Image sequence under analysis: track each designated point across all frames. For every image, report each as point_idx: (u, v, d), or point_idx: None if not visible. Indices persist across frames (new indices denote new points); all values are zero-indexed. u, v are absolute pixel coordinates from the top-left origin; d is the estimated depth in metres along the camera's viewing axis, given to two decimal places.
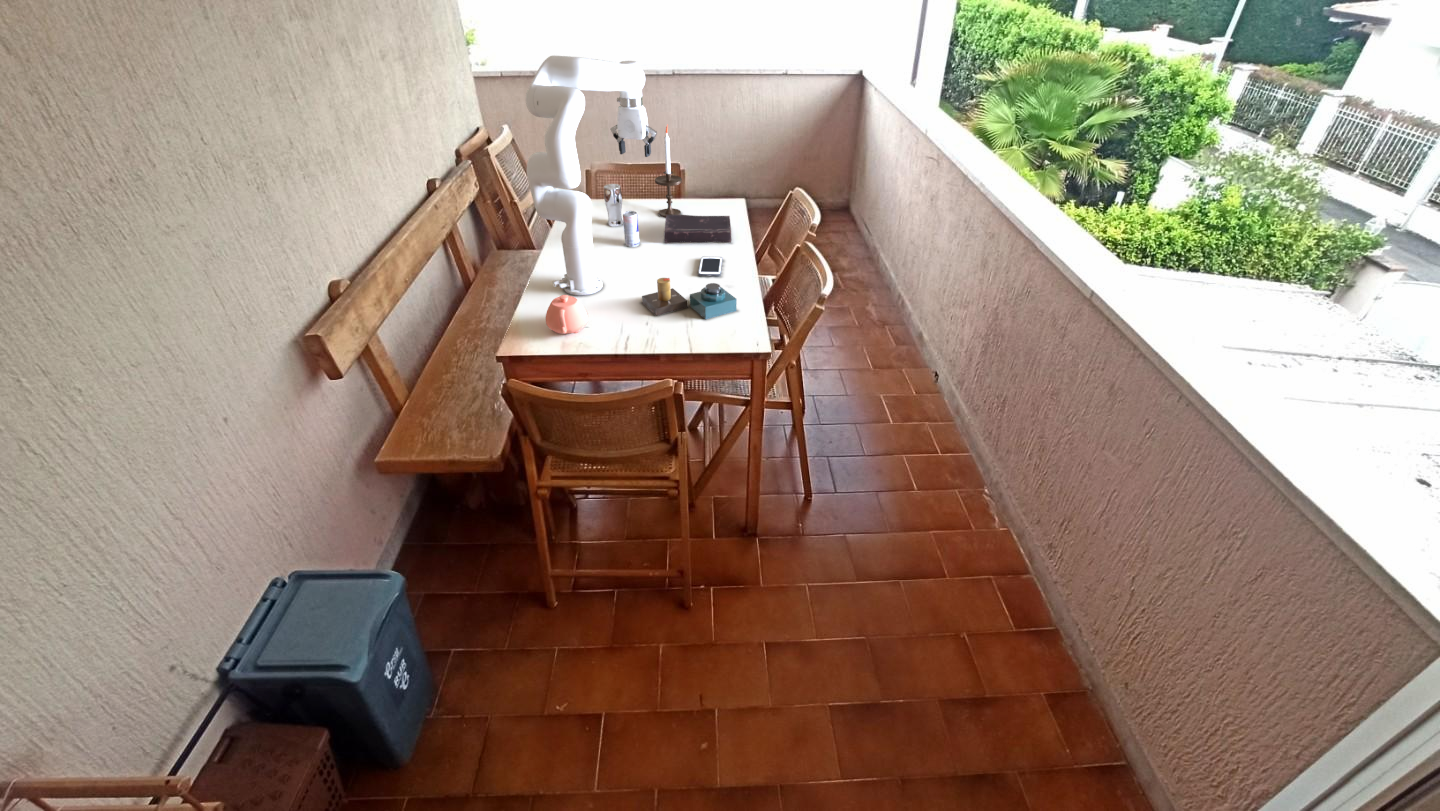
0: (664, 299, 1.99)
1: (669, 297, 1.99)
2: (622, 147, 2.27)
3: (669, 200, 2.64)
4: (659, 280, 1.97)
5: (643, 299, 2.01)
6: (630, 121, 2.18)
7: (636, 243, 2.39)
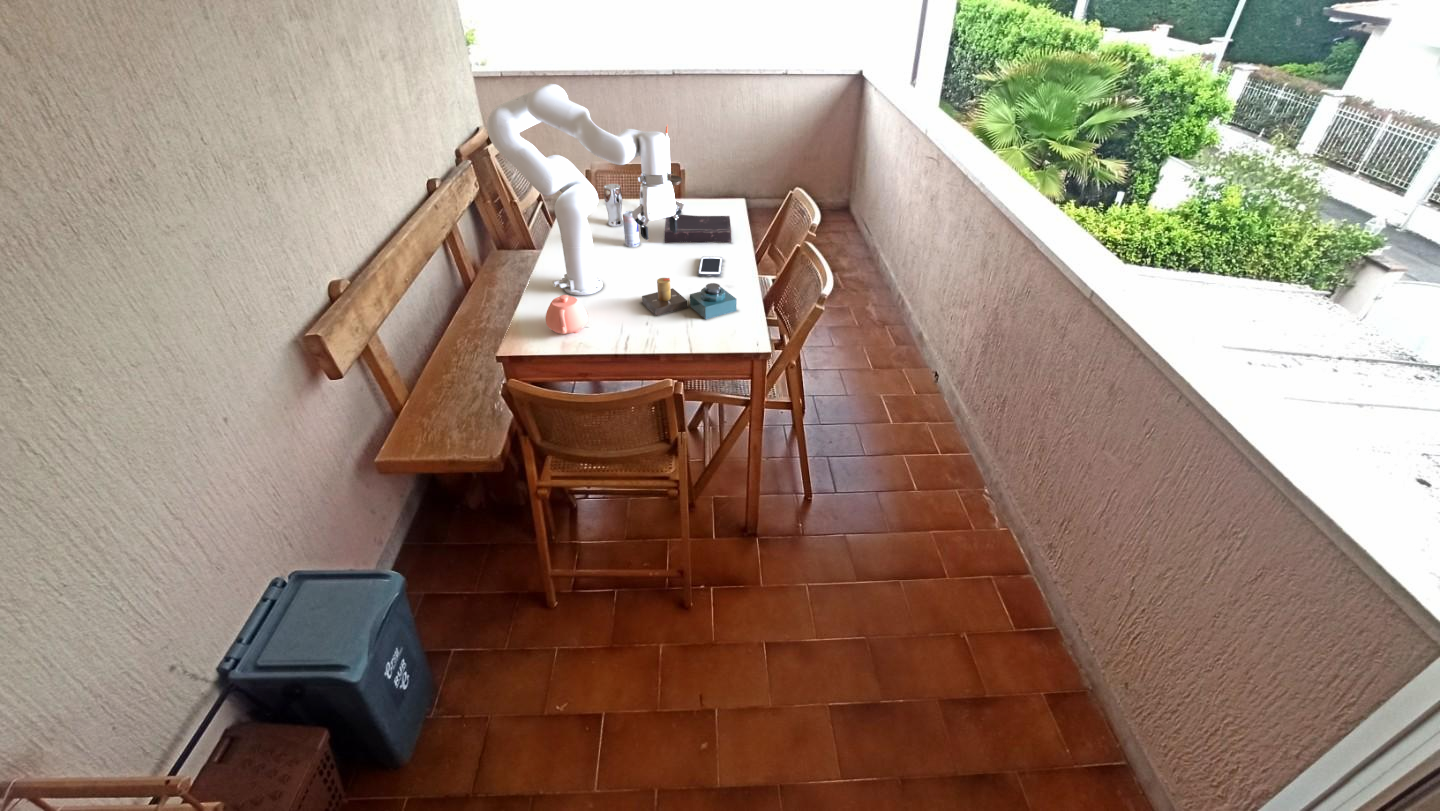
0: (664, 299, 1.99)
1: (669, 297, 1.99)
2: None
3: None
4: (659, 280, 1.97)
5: (643, 299, 2.01)
6: (662, 199, 1.87)
7: (636, 243, 2.39)
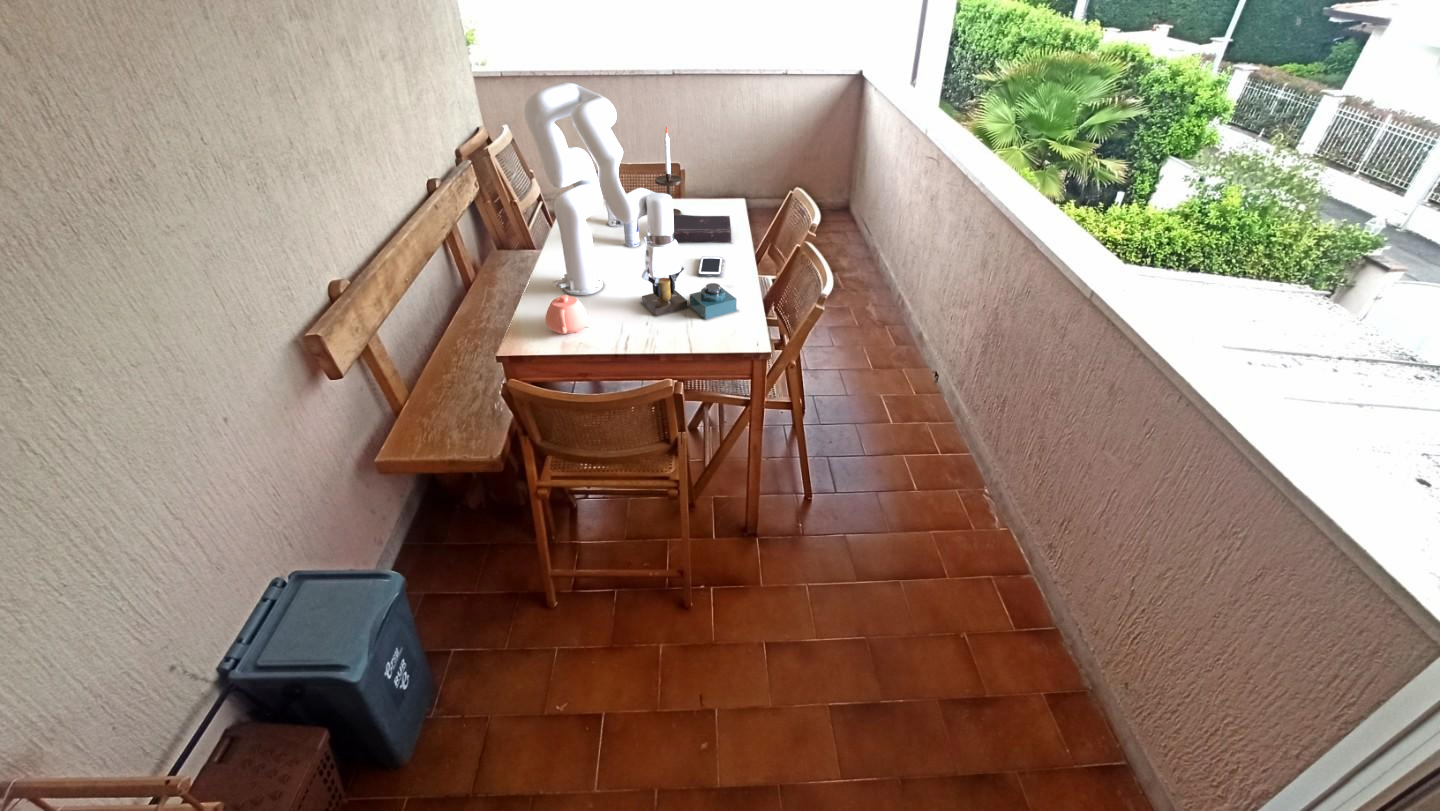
0: (664, 299, 1.99)
1: (669, 297, 1.99)
2: None
3: None
4: (659, 280, 1.97)
5: (643, 299, 2.01)
6: (667, 257, 1.90)
7: (636, 243, 2.39)
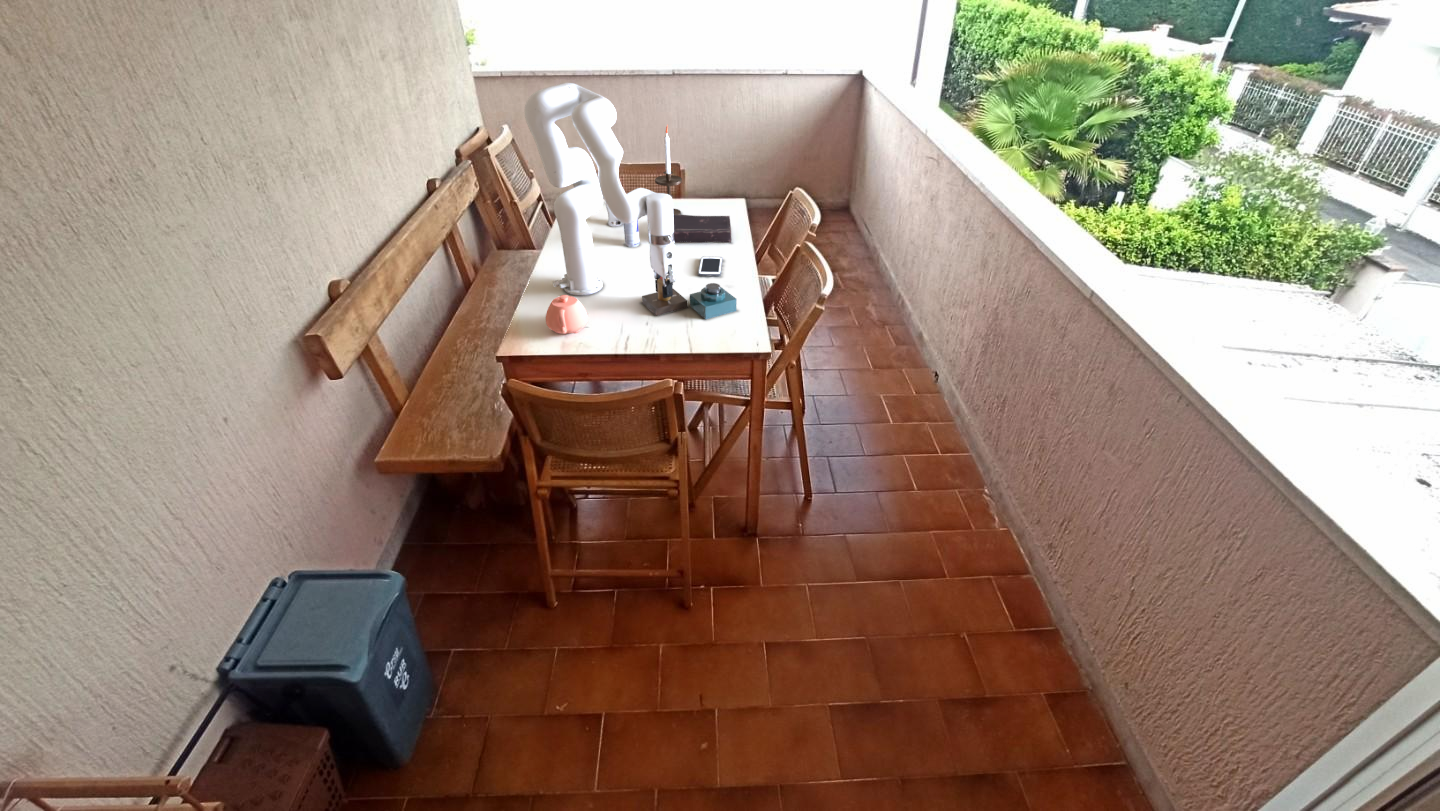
0: None
1: None
2: None
3: None
4: None
5: (643, 299, 2.01)
6: None
7: (636, 243, 2.39)
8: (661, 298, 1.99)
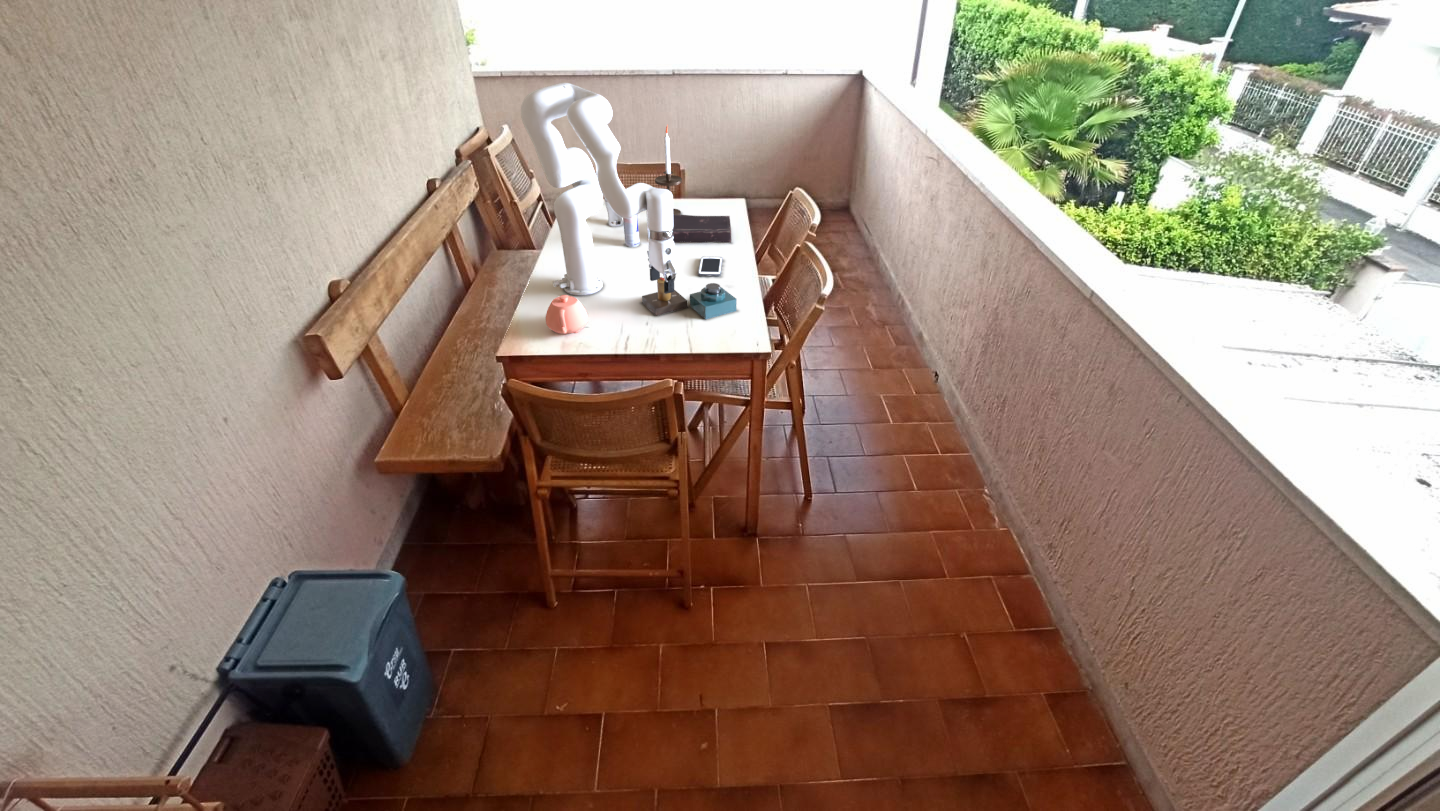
0: (670, 296, 2.00)
1: None
2: None
3: None
4: (663, 282, 1.96)
5: (643, 299, 2.01)
6: None
7: (636, 243, 2.39)
8: (661, 298, 1.99)
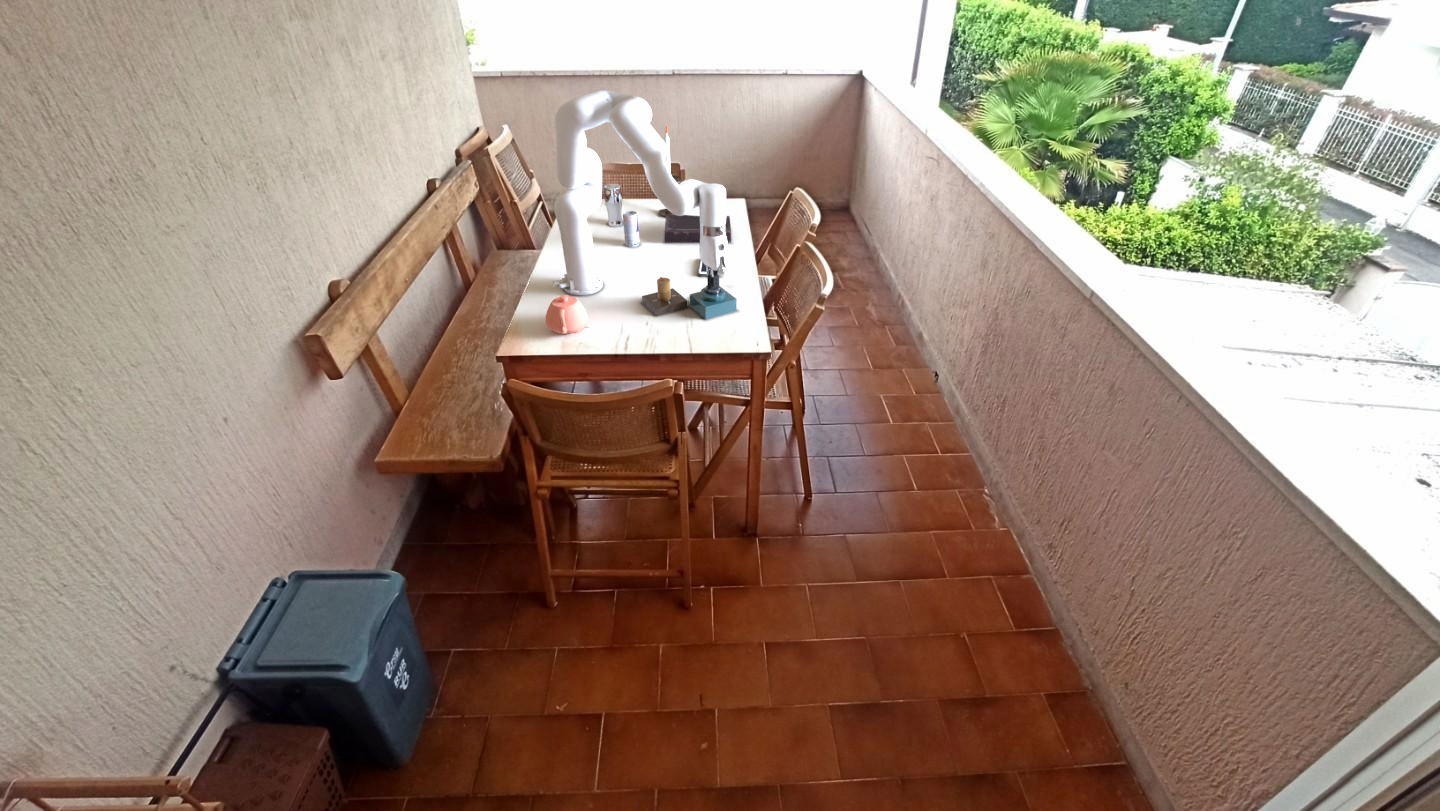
0: (670, 296, 2.00)
1: None
2: None
3: None
4: (663, 282, 1.96)
5: (643, 299, 2.01)
6: None
7: (636, 243, 2.39)
8: (661, 298, 1.99)
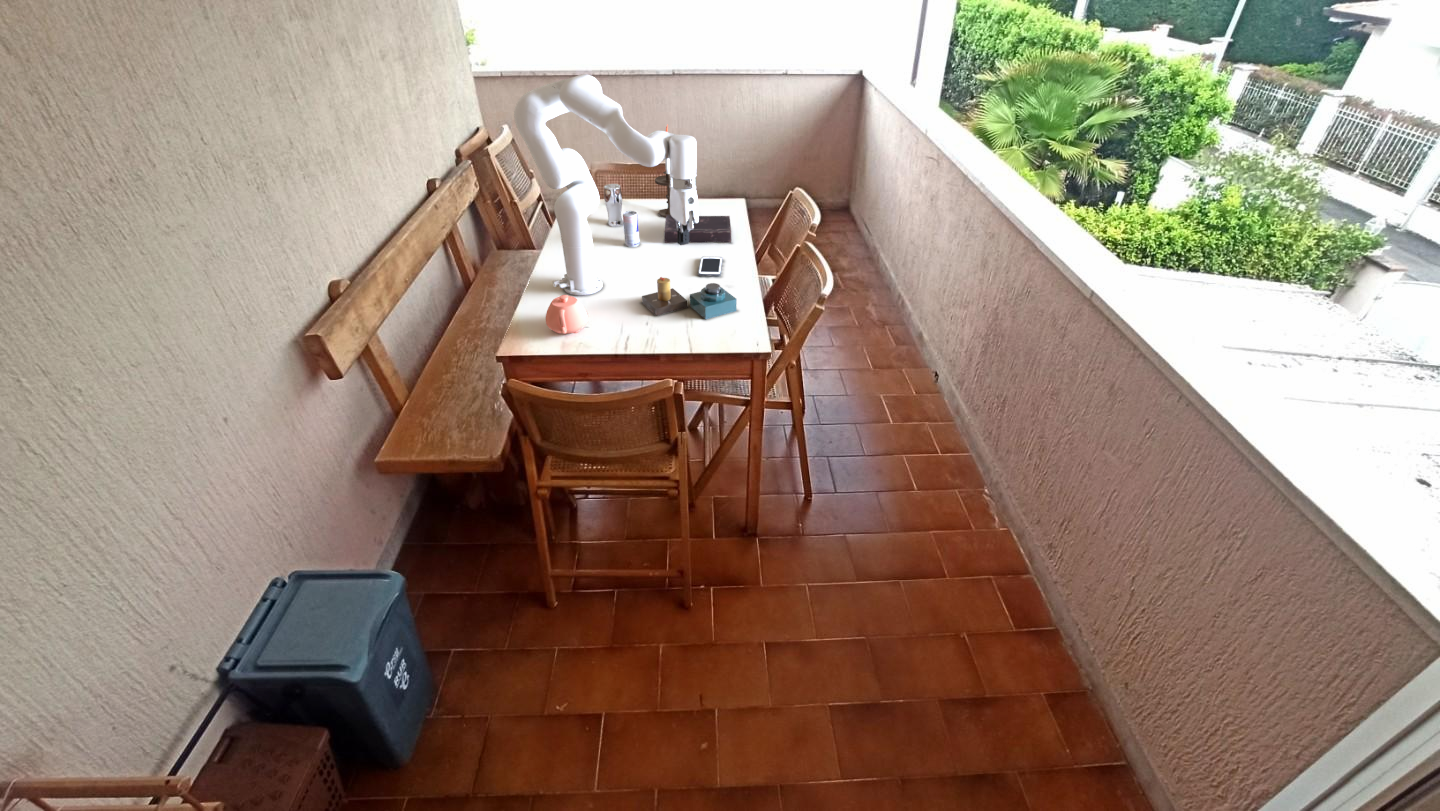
0: (670, 296, 2.00)
1: None
2: None
3: (669, 200, 2.64)
4: (663, 282, 1.96)
5: (643, 299, 2.01)
6: None
7: (636, 243, 2.39)
8: (661, 298, 1.99)
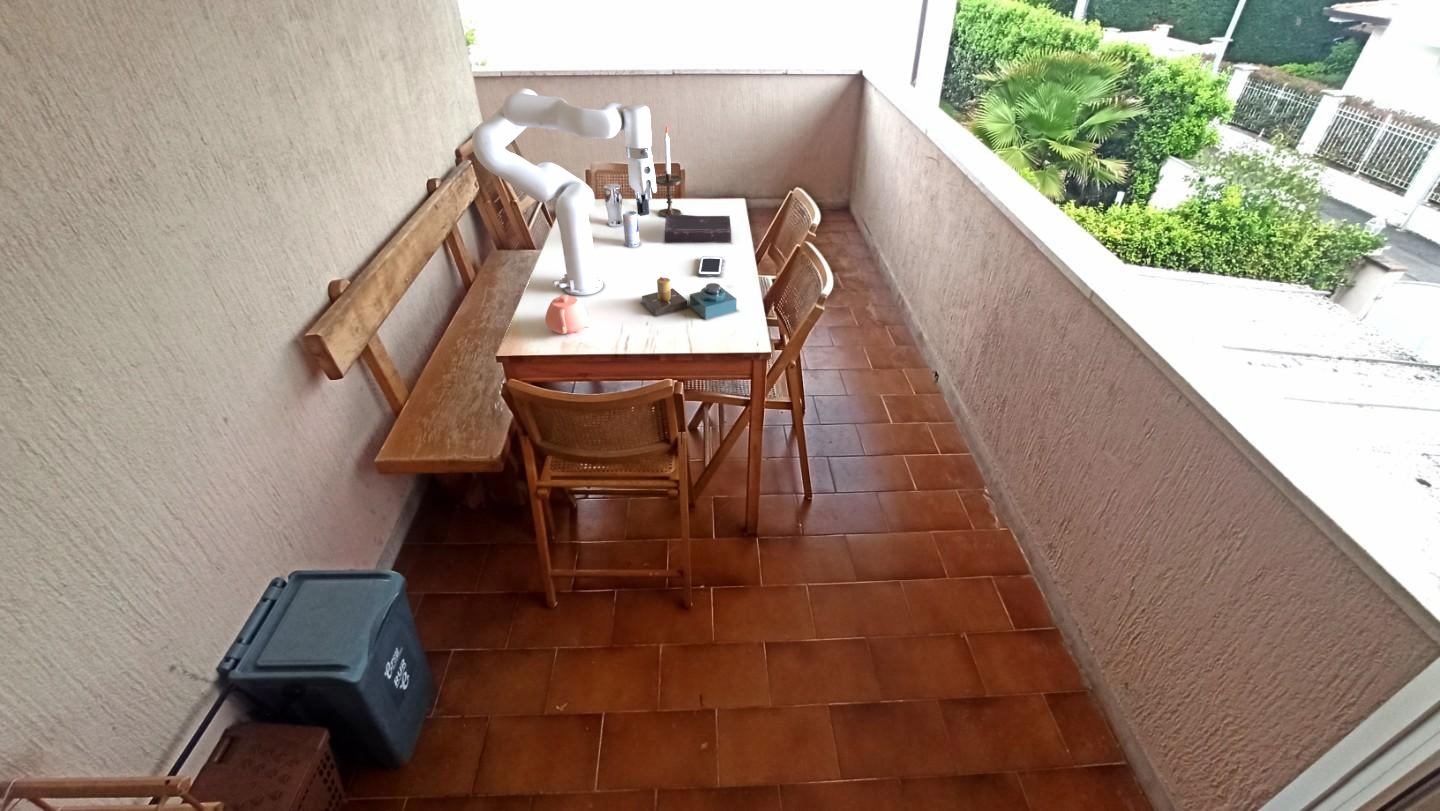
0: (670, 296, 2.00)
1: None
2: None
3: (669, 200, 2.64)
4: (663, 282, 1.96)
5: (643, 299, 2.01)
6: None
7: (636, 243, 2.39)
8: (661, 298, 1.99)
